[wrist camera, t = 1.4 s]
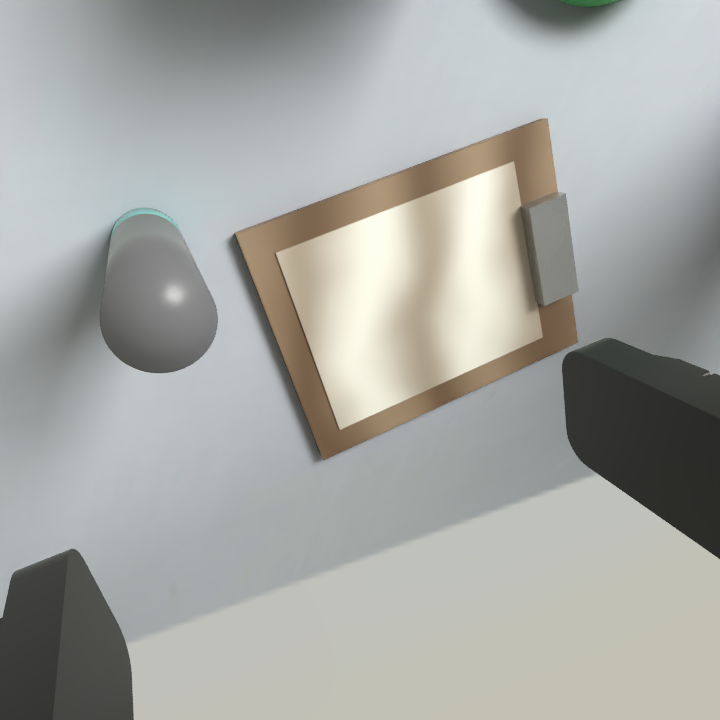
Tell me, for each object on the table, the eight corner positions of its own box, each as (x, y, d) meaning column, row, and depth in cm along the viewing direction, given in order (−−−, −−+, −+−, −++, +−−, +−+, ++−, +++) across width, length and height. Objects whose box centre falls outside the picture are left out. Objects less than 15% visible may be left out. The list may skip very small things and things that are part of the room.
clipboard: (541, 118, 33) (559, 118, 32) (571, 339, 40) (588, 347, 38) (234, 232, 30) (239, 238, 28) (320, 455, 36) (328, 468, 35)
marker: (165, 198, 28) (191, 248, 17) (192, 261, 30) (234, 347, 18) (98, 221, 28) (78, 291, 16) (129, 285, 29) (130, 389, 18)
